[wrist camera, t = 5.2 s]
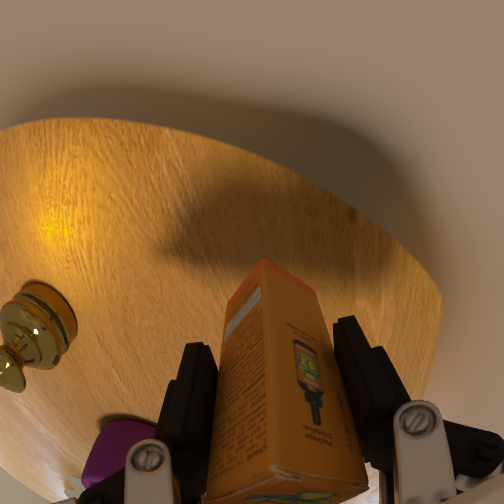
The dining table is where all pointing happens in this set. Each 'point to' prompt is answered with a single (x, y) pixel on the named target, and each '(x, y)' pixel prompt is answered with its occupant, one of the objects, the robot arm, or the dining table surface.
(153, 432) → the mug
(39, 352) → the brass knobbed weight
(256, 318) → the supplement box
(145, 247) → the dining table surface
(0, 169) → the dining table surface
